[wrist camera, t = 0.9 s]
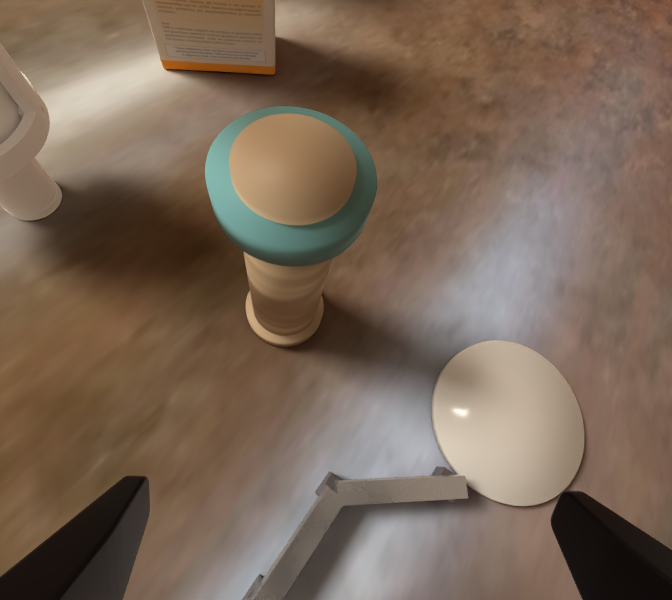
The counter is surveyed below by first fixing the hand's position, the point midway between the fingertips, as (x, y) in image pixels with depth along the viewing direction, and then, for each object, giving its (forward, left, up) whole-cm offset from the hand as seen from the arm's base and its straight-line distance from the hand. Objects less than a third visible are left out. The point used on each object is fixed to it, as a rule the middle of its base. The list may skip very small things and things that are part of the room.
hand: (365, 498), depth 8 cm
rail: (-1, -4, -13) cm, 13 cm away
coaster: (+9, -7, -13) cm, 17 cm away
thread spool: (+6, +7, -13) cm, 16 cm away
